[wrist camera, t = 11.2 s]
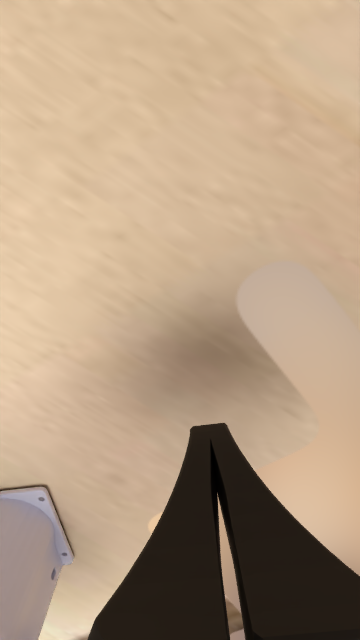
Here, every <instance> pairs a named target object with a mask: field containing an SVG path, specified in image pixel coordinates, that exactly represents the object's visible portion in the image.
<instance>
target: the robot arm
mask: <svg viewBox="0 0 360 640" xmlns="http://www.w3.org/2000/svg"><path fill="white" fill-rule="evenodd" d="M217 493H218V497H219V501H220V506H221V511H222V515H223V519H224V524H225V528H226V532H227V537H228V541H229V545H230V549H231V554H232V558H233V564H234V569H235V574H236V581H237V586H238V594H239V599H240V606H241V613H242V620H243V626H244V633H245V639H246V640H360V576H358V575H357V574H356V573H355V572H354V571H353V570H351V569H350V568H349V567H348V566H346V565H345V564H344V563H343V562H342V561H340V560H339V559H338V558H337V557H336V556H335V555H334V554H333V553H331V552H330V551H329V550H328V549H327V548H326V547H324V546H323V545H322V544H321V543H320V542H319V541H318V540H317V539H316V538H315V537H314V536H313V535H312V534H311V533H310V532H309V531H308V530H306V529H305V528H304V527H303V526H302V525H301V524H300V523H299V522H298V521H297V520H296V519H295V518H294V517H293V516H292V515H291V514H290V513H289V511H288V510H287V509H285V507H284V506H283V505H282V504H281V503H280V502H279V501H278V499H277V498H276V497H275V496H274V495H273V494H272V493H271V491H270V490H269V489H268V488H267V487H266V485H265V484H264V483H263V482H262V480H261V479H260V478H259V476H257V474H256V472H255V471H254V470H253V468H252V467H251V465H250V464H249V463H248V461H247V460H246V458H245V457H244V455H243V454H242V452H241V451H240V449H239V447H238V446H237V444H236V442H235V441H234V439H233V437H232V435H231V433H230V431H229V429H228V427H227V425H226V424H225V423H218V424H210V425H201V426H193V427H192V428H191V429H190V437H189V443H188V447H187V451H186V455H185V458H184V461H183V464H182V468H181V471H180V474H179V476H178V479H177V481H176V484H175V487H174V489H173V492H172V494H171V496H170V499H169V501H168V503H167V505H166V508H165V510H164V512H163V514H162V516H161V518H160V520H159V522H158V524H157V526H156V527H155V529H154V531H153V533H152V535H151V537H150V539H149V540H148V542H147V544H146V545H145V547H144V549H143V551H142V552H141V554H140V555H139V557H138V558H137V560H136V562H135V563H134V565H133V566H132V568H131V569H130V571H129V573H128V574H127V576H126V577H125V579H124V580H123V582H122V583H121V585H120V586H119V587H118V589H117V590H116V591H115V593H114V594H113V596H112V597H111V598H110V600H109V601H108V602H107V604H106V605H105V606H104V608H103V609H102V611H101V612H100V613H99V615H98V616H97V617H96V619H95V621H94V624H93V626H92V629H91V632H90V634H89V637H88V640H230V635H229V627H228V619H227V611H226V602H225V594H224V586H223V578H222V569H221V556H220V537H219V516H218V498H217ZM73 560H74V556H73V554H72V551H71V549H70V546H69V544H68V541H67V539H66V536H65V534H64V531H63V529H62V526H61V523H60V521H59V518H58V516H57V513H56V511H55V508H54V506H53V503H52V501H51V498H50V496H49V493H48V491H47V489H46V488H45V487H33V488H24V489H15V490H6V491H0V640H38V638H39V635H40V632H41V629H42V626H43V623H44V620H45V617H46V614H47V611H48V608H49V605H50V602H51V599H52V596H53V593H54V590H55V586H56V583H57V580H58V577H59V574H60V571H61V568H62V565H69V564H71V563H72V562H73Z"/></svg>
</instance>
